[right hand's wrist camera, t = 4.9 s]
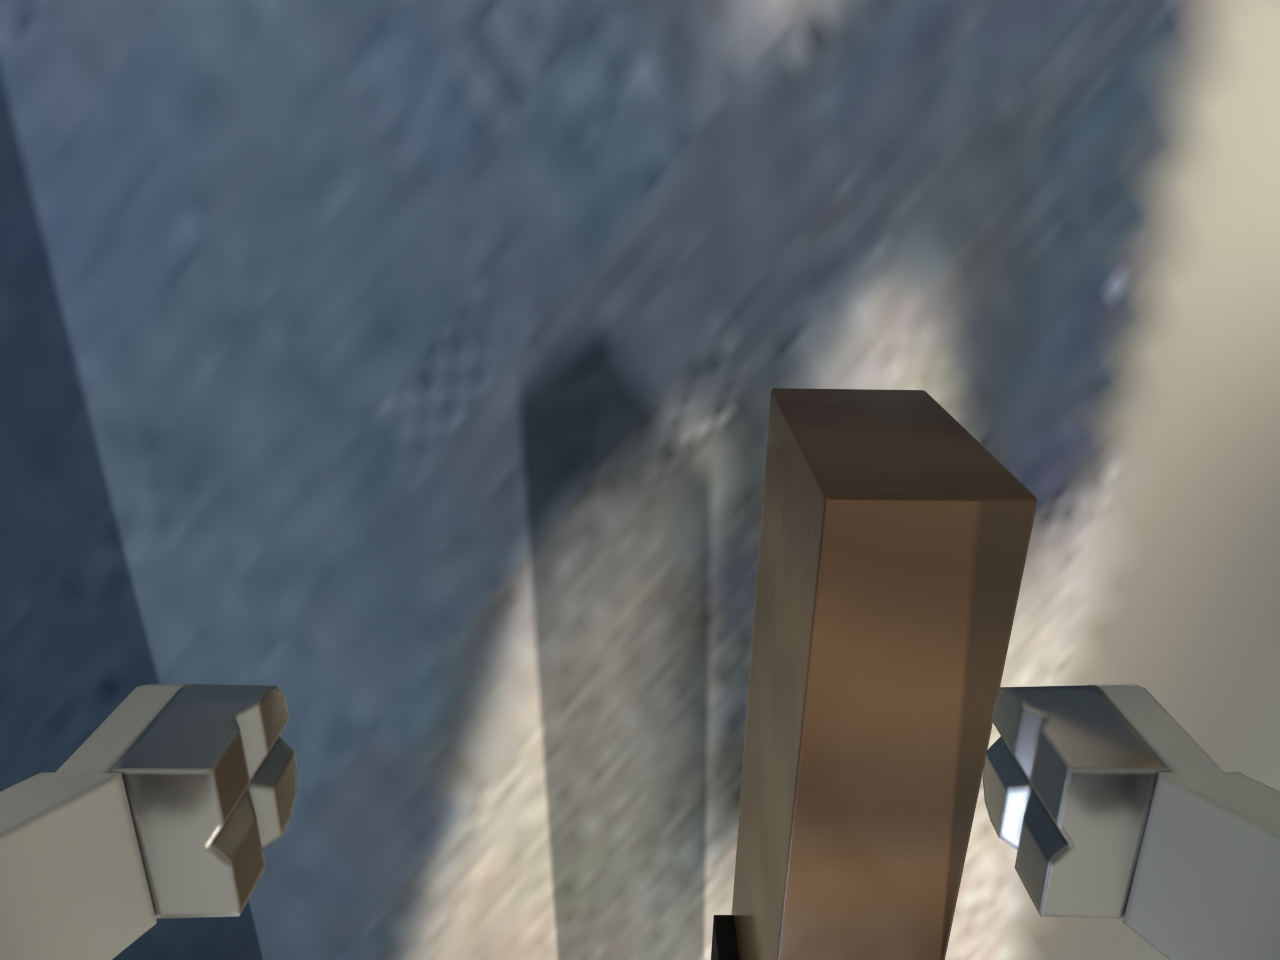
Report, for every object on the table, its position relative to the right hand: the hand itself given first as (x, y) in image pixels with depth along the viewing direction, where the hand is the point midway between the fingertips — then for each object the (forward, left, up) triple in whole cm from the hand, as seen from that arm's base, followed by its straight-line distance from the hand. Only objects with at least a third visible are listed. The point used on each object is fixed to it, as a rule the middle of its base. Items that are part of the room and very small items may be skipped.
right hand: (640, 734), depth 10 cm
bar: (+13, +6, -17) cm, 22 cm away
